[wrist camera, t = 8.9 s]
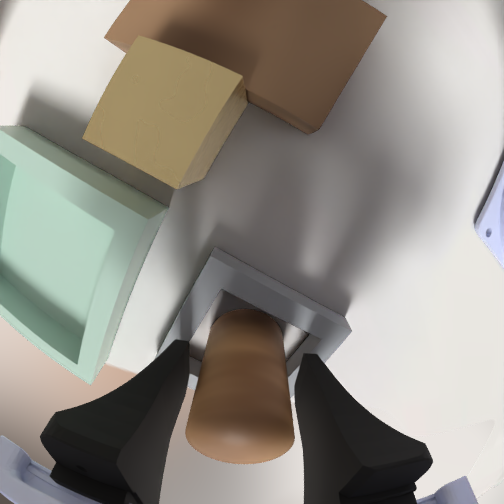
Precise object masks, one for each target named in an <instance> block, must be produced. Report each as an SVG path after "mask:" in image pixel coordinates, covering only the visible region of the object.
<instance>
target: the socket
mask: <svg viewBox="0 0 504 504" xmlns="http://www.w3.org/2000/svg"><path fill="white" fill-rule="evenodd" d="M221 289H223V290H225V291H227V292H229V293H231V294H233V295H234V296H236V297H238V298H240V299H242V300H244V301H246V302H248V303H250V304H252V305H254V306H256V307H258V308H259V309H261V310H263V311H265V312H267V313H269V314H271V315H273V316H275V317H277V318H279V319H281V320H283V321H285V322H287V323H289V324H291V325H293V326H295V327H297V328H300V329H302V330H304V331H306V332H308V333H310V335H309V336H308V337H307V338H306V339H305V341H304V342H303V343H302V344H301V345H300V347H299V348H298V349H297V350H296V351H295V353H294V354H293V355H292V356H291V357H290V358H289V360H288V361H287V362H286V367H287V375H288V383H289V392H290V398H291V397H292V396H293V395H294V394H295V393H294V385H295V381H296V378H297V374H298V371H299V368H300V364H301V361H302V357H303V353H311V354H318V356H319V357H320V358H321V360H322V361H323V362H324V363H325V362H326V361H327V360H328V358H329V357H330V356H331V355H332V354H333V353H334V352H335V351H336V349H337V348H338V347H339V346H340V345H341V344H342V343H343V341H344V340H345V339H346V338H347V337H348V335H349V334H350V333H351V332H352V330H351V328H350V326H349V324H348V322H347V320H346V318H345V317H343V316H341V315H340V314H338V313H336V312H334V311H332V310H330V309H328V308H326V307H325V306H323V305H321V304H319V303H317V302H315V301H313V300H312V299H310V298H308V297H306V296H304V295H302V294H301V293H299V292H297V291H295V290H293V289H291V288H289V287H288V286H286V285H284V284H282V283H280V282H278V281H277V280H275V279H273V278H271V277H269V276H267V275H266V274H264V273H262V272H260V271H258V270H257V269H255V268H253V267H251V266H249V265H247V264H246V263H244V262H242V261H240V260H238V259H237V258H235V257H233V256H231V255H229V254H228V253H226V252H224V251H222V250H220V249H219V248H217V247H214V249H213V251H212V253H211V254H210V256H209V258H208V260H207V262H206V263H205V265H204V267H203V269H202V271H201V272H200V274H199V276H198V278H197V280H196V282H195V283H194V285H193V287H192V289H191V291H190V293H189V294H188V296H187V298H186V300H185V302H184V304H183V306H182V307H181V309H180V311H179V313H178V315H177V317H176V319H175V321H174V323H173V324H172V326H171V328H170V330H169V332H168V334H167V336H166V338H165V340H164V342H163V344H162V346H161V347H160V349H159V351H158V353H157V355H156V358H157V357H158V356H159V355H160V354H161V353H162V352H163V351H164V350H165V349H166V348H167V347H168V346H169V345H170V344H171V343H172V342H173V341H174V340H175V339H178V340H184V341H190V340H191V338H192V336H193V335H194V333H195V331H196V330H197V328H198V326H199V325H200V323H201V321H202V320H203V318H204V316H205V315H206V313H207V311H208V310H209V308H210V306H211V305H212V303H213V301H214V300H215V298H216V297H217V295H218V293H219V292H220V290H221ZM156 358H155V359H156ZM189 364H190V376H189V381H188V386H187V387H189V388H191V389H193V390H195V389H196V385H197V381H198V377H199V373H200V369H201V365H202V362H200V361H198V360H196V359H194V358H192V357H190V356H189Z"/></svg>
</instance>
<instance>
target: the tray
mask: <svg viewBox="0 0 504 504" xmlns="http://www.w3.org/2000/svg"><path fill="white" fill-rule="evenodd" d="M168 208H169V207H167V206H165V205H163V204H162V203H160V202H158V201H156V200H155V199H153V198H151V197H149V196H147V195H146V194H144V193H142V192H140V191H139V190H137V189H135V188H133V187H131V186H130V185H128V184H126V183H124V182H123V181H121V180H119V179H117V178H115V177H114V176H112V175H110V174H108V173H107V172H105V171H103V170H101V169H99V168H98V167H96V166H94V165H92V164H91V163H89V162H87V161H85V160H84V159H82V158H80V157H78V156H76V155H75V154H73V153H71V152H69V151H68V150H66V149H64V148H62V147H60V146H59V145H57V144H55V143H53V142H52V141H50V140H48V139H46V138H45V137H43V136H41V135H39V134H38V133H36V132H34V131H32V130H30V129H29V128H27V127H25V126H0V316H1V317H2V318H3V319H5V320H6V321H7V322H8V323H9V324H10V325H11V326H12V327H13V328H14V329H16V330H17V331H18V332H19V333H20V334H21V335H22V336H24V337H25V338H26V339H27V340H29V341H30V342H31V343H32V344H33V345H35V346H36V347H37V348H38V349H40V350H41V351H42V352H44V353H45V354H46V355H48V356H49V357H50V358H51V359H53V360H54V361H56V362H57V363H58V364H60V365H61V366H63V367H64V368H65V369H67V370H68V371H70V372H71V373H73V374H74V375H76V376H77V377H79V378H80V379H82V380H83V381H85V382H87V383H88V384H90V385H91V384H92V383H93V381H94V380H95V378H96V376H97V374H98V373H99V372H100V370H101V369H102V367H103V365H104V364H105V362H106V361H107V359H108V356H109V353H110V350H111V347H112V344H113V341H114V338H115V335H116V332H117V330H118V327H119V324H120V321H121V318H122V316H123V313H124V310H125V308H126V305H127V302H128V300H129V297H130V295H131V292H132V290H133V287H134V285H135V282H136V280H137V277H138V275H139V272H140V270H141V268H142V265H143V263H144V261H145V258H146V256H147V254H148V251H149V249H150V247H151V245H152V243H153V240H154V238H155V236H156V234H157V232H158V229H159V227H160V225H161V223H162V221H163V219H164V217H165V215H166V213H167V211H168Z"/></svg>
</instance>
